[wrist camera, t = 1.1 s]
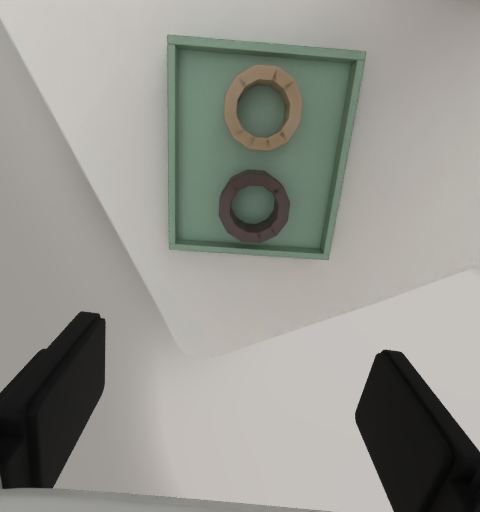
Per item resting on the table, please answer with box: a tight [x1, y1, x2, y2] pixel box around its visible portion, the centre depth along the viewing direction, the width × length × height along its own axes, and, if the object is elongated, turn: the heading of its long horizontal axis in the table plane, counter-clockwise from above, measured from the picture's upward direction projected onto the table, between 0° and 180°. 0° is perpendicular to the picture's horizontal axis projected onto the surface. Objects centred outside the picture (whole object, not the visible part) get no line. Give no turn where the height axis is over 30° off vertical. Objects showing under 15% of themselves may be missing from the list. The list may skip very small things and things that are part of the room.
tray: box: [167, 35, 366, 260], centre depth 28 cm, size 17×15×2 cm
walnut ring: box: [219, 169, 290, 243], centre depth 29 cm, size 6×6×3 cm
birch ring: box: [224, 64, 303, 151], centre depth 26 cm, size 6×6×3 cm
